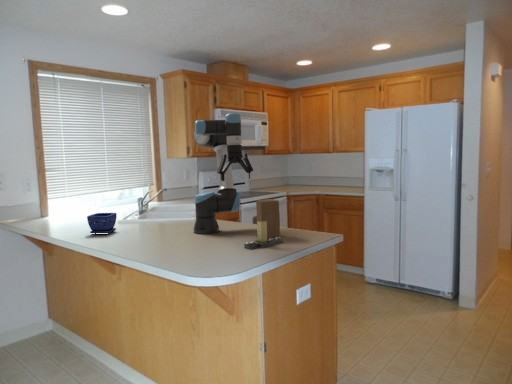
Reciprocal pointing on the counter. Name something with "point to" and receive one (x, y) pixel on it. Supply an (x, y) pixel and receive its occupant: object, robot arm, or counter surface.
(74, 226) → the counter surface
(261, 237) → the pin
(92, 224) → the flower pot
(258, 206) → the wooden block
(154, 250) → the counter surface
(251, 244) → the ball-studded metal bracket
